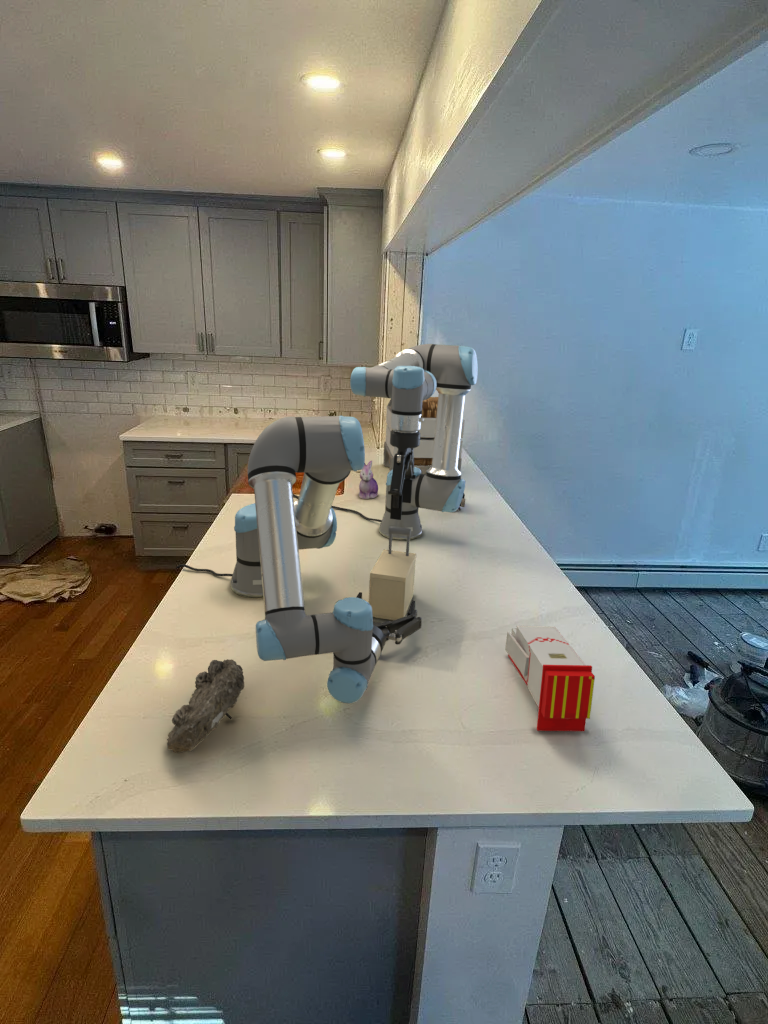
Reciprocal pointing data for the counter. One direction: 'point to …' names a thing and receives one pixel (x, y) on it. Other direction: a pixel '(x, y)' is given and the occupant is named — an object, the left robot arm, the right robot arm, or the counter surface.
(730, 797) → the counter surface
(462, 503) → the figurine character
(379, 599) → the chest
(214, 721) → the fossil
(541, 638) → the toy
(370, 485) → the figurine
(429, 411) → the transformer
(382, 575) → the lid
